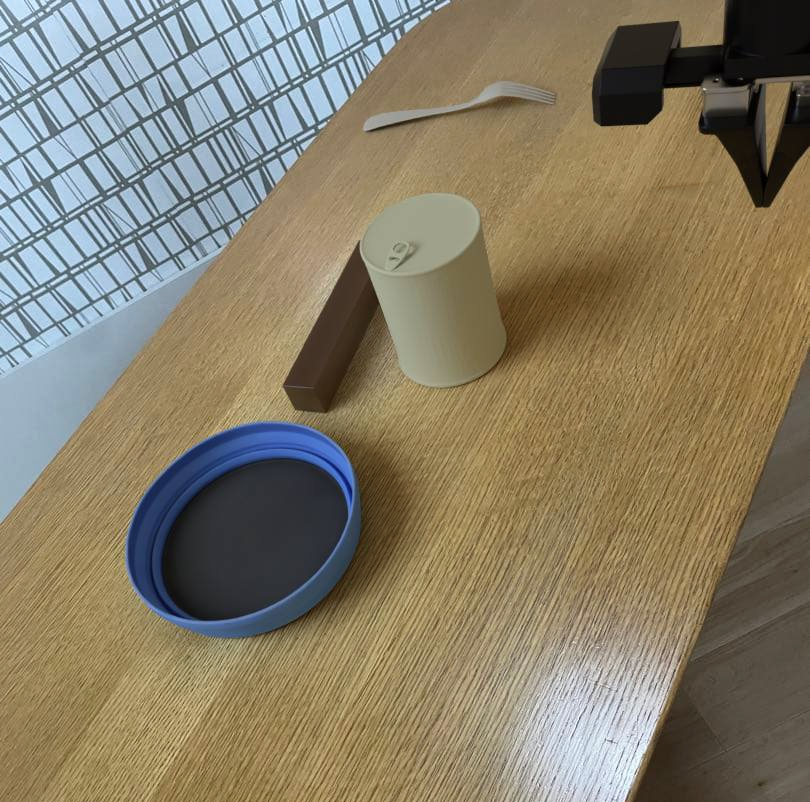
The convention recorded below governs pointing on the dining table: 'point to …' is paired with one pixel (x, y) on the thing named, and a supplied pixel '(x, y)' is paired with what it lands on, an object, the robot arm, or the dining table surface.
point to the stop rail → (333, 339)
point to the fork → (488, 93)
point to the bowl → (245, 530)
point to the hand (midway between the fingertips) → (763, 203)
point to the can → (435, 288)
